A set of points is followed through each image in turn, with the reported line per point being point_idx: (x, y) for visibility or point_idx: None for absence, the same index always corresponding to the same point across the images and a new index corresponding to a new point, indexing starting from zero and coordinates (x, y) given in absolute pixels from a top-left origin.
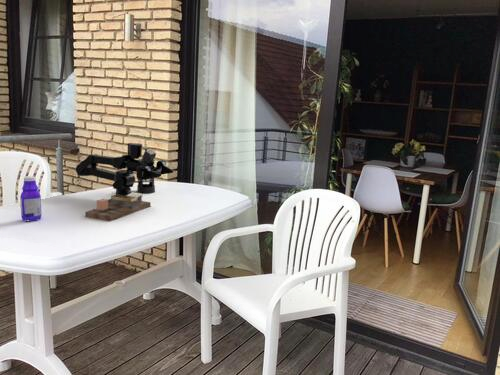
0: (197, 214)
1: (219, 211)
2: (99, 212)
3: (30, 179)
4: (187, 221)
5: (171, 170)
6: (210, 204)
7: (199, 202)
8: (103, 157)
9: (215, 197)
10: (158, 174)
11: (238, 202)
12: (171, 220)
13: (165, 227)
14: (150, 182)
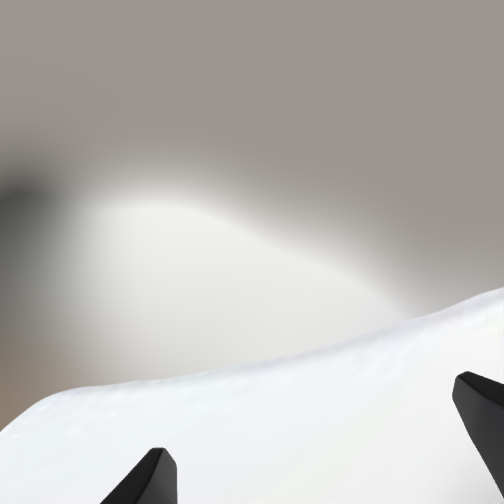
0: (319, 379)
1: (226, 368)
2: None
3: None
4: (410, 331)
5: (161, 464)
6: (145, 442)
7: None
8: None
9: (41, 471)
10: (487, 386)
11: (90, 392)
12: (455, 356)
13: (495, 307)
14: None
